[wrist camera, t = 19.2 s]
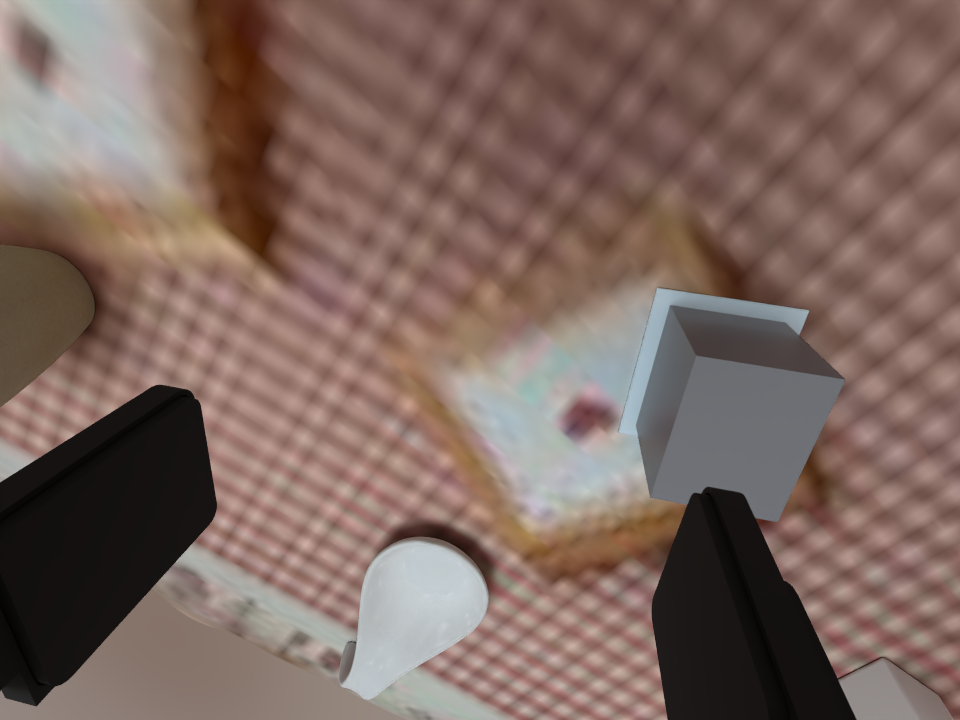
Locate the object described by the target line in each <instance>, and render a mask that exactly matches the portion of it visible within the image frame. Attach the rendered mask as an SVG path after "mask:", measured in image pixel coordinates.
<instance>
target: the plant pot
mask: <svg viewBox="0 0 960 720" xmlns="http://www.w3.org/2000/svg"><path fill="white" fill-rule="evenodd" d="M94 313H95V302H94V297H93V294H92V291H91V289H90V287H89V285H88V283H87V281H86V280H85V278H84V277H83V276H82V274H81V273H80V272H79V271H78V270H77V269H76V268H75V267H74V266H73V265H72V264H71V263H70V262H69V261H67V260H66V259H64V258H63V257H61V256H59V255H57V254H55V253H53V252H49V251H45V250H39V249H33V248H26V247H19V246H11V245H2V244H0V407H1V406H3V405H4V404H5V403H6V402H8V401H9V400H10V399H12V398H13V397H14V396H15V395H17V394H18V393H19V392H20V391H21V390H23V389H24V388H25V387H26V386H28V385H29V384H30V383H31V382H32V381H33V380H35V379H36V378H37V377H38V376H39V375H40V374H41V373H43V372H44V371H45V370H46V369H47V368H48V367H49V366H50V365H51V364H52V363H54V362H55V361H56V360H57V359H58V358H59V357H60V356H61V355H62V354H63V353H64V352H65V351H66V350H67V349H68V348H69V347H70V346H71V345H72V344H73V343H74V341H75V340H76V339H77V338H78V337H79V336H80V335H81V334H82V333H83V331H84V330H85V329H86V328H87V327H88V326H89V324H90V323H91V322H92V320H93V317H94Z"/></svg>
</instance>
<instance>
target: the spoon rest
mask: <svg viewBox="0 0 960 720" xmlns="http://www.w3.org/2000/svg"><path fill="white" fill-rule="evenodd" d="M488 604H489V592H488V587H487V584H486V581H485V578H484V576H483V574H482V572H481V571H480V569H479V568H478V566H477V565H476V564H475V562H474V561H473V560H472V559H471V558H470V557H469V556H468V555H466V554H465V553H464V552H463V551H461V550H460V549H459V548H457V547H456V546H454V545H452V544H450V543H448V542H446V541H443V540H440V539H436V538H430V537H411V538H406V539H402V540H399V541H397V542H395V543H393V544H391V545H389V546H388V547H386V548H385V549H384V550H382V551H381V552H380V553H379V554H378V555H377V556H376V557H375V558H374V559H373V561H372V562H371V564H370V566H369V568H368V570H367V572H366V575H365V578H364V582H363V586H362V591H361V600H360V610H359V622H358V633H357V643H353V642H349V643H347V644H346V646H345V648H344V651H343V655H342V659H341V663H340V669H339V683H340V685H341V686H342V687H344V688H348V689H351V690H354V691H355V692H357V693H358V694H359V695H360V696H361V697H362V698H364V699H365V700H369V699H372V698H373V697H375V696H377V695H378V694H379V693H381V692H382V691H383V690H385V689H386V688H387V687H388V686H389V685H391V684H392V683H393V682H394V681H396V680H397V679H398V678H400V677H402V676H403V675H404V674H406V673H407V672H409V671H411V670H412V669H414V668H415V667H417V666H419V665H420V664H422V663H424V662H425V661H427V660H429V659H430V658H432V657H434V656H436V655H437V654H439V653H441V652H443V651H444V650H446V649H448V648H449V647H451V646H452V645H454V644H455V643H457V642H458V641H460V640H461V639H463V638H464V637H466V636H467V635H468V634H470V633H471V632H472V631H473V630H474V629H475V628H476V627H477V626H478V625H479V624H480V623H481V621H482V620H483V618H484V616H485V614H486V612H487V609H488Z"/></svg>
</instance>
